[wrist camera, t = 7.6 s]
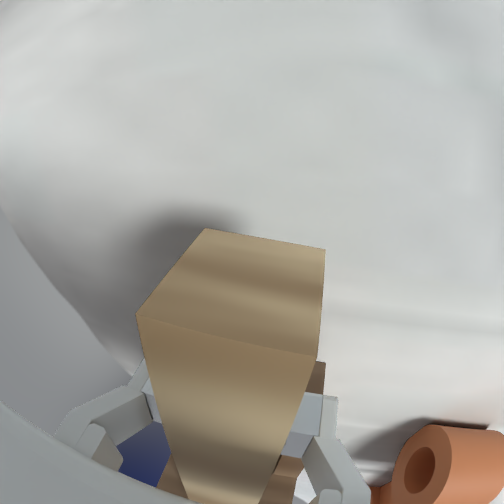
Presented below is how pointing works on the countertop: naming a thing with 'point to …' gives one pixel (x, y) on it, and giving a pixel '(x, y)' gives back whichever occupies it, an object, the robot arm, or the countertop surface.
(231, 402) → the rail
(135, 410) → the robot arm
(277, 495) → the wooden u-shaped bracket
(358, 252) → the countertop surface
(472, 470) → the crank
